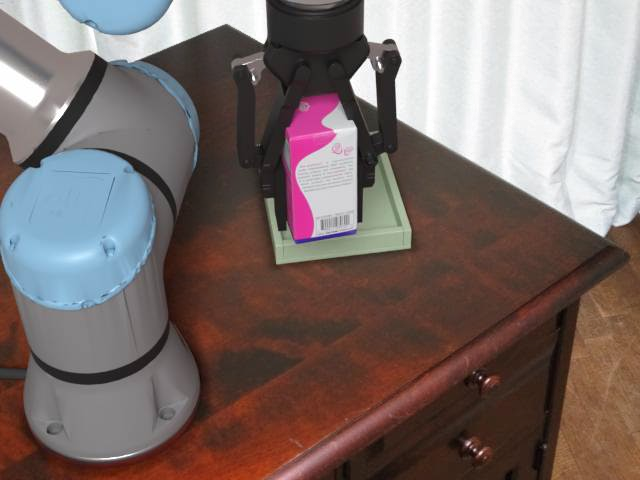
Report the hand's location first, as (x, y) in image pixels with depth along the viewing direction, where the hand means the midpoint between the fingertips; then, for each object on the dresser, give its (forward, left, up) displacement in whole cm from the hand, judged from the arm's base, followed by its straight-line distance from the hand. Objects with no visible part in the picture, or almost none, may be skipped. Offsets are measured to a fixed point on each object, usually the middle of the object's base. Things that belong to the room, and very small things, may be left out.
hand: (318, 216), depth 102 cm
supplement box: (0, 0, 0) cm, 0 cm away
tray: (+3, +14, -11) cm, 18 cm away
